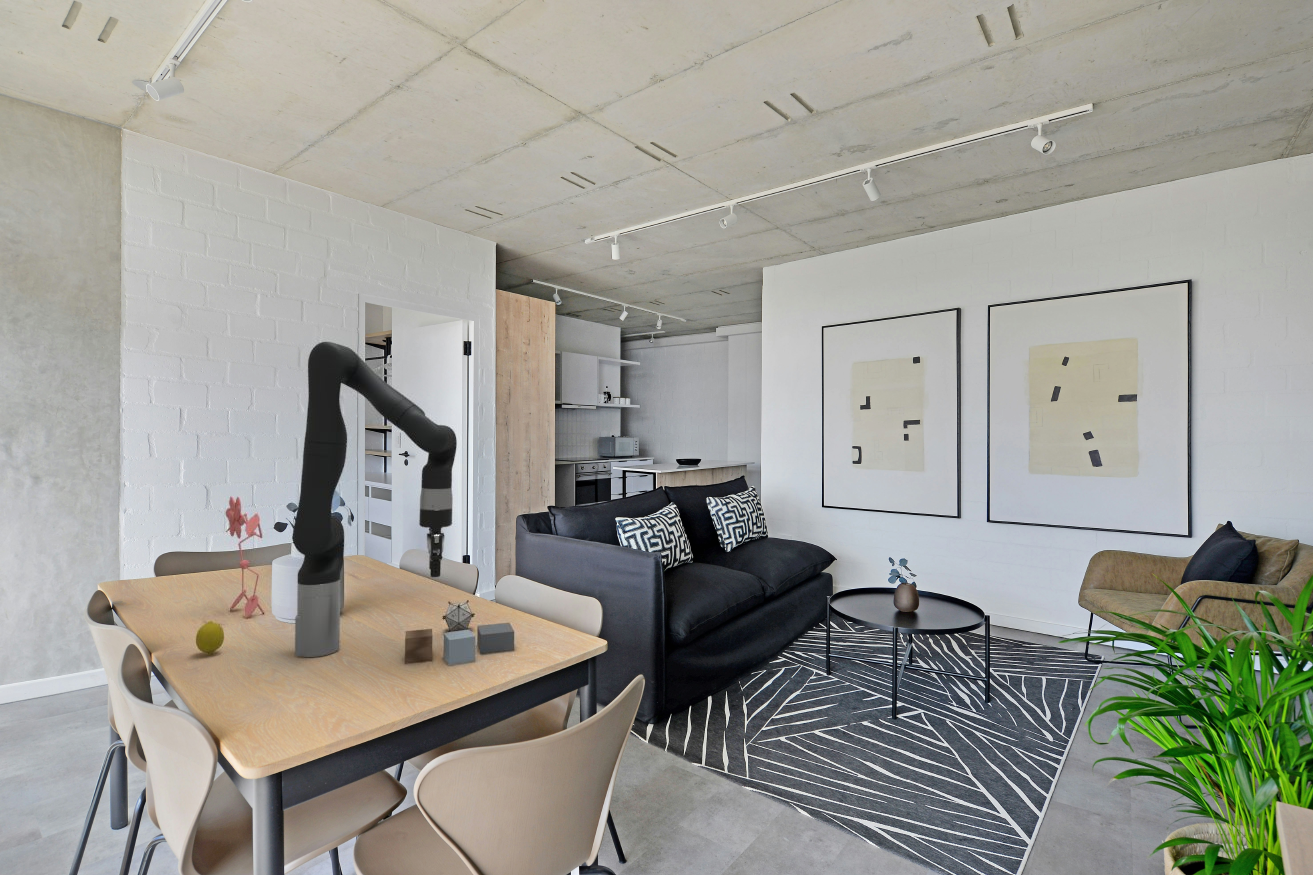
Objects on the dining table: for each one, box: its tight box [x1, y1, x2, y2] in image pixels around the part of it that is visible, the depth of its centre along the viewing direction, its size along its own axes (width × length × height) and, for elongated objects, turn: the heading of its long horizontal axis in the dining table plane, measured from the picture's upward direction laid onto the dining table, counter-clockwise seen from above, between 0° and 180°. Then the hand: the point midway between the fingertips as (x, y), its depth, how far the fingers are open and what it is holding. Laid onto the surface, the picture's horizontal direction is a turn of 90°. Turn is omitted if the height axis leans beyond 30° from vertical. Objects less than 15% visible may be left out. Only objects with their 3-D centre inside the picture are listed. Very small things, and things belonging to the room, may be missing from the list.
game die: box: [442, 599, 476, 633], centre depth 171 cm, size 9×8×10 cm
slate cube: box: [442, 629, 477, 667], centre depth 149 cm, size 6×6×6 cm
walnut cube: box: [404, 628, 433, 665], centre depth 150 cm, size 6×6×6 cm
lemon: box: [195, 620, 225, 656], centre depth 151 cm, size 6×6×8 cm
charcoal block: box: [476, 622, 515, 656], centre depth 158 cm, size 8×8×5 cm
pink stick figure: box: [225, 495, 265, 619], centre depth 183 cm, size 15×26×35 cm, turn 49°
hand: (434, 573), depth 154 cm, fingers open, 8 cm apart
